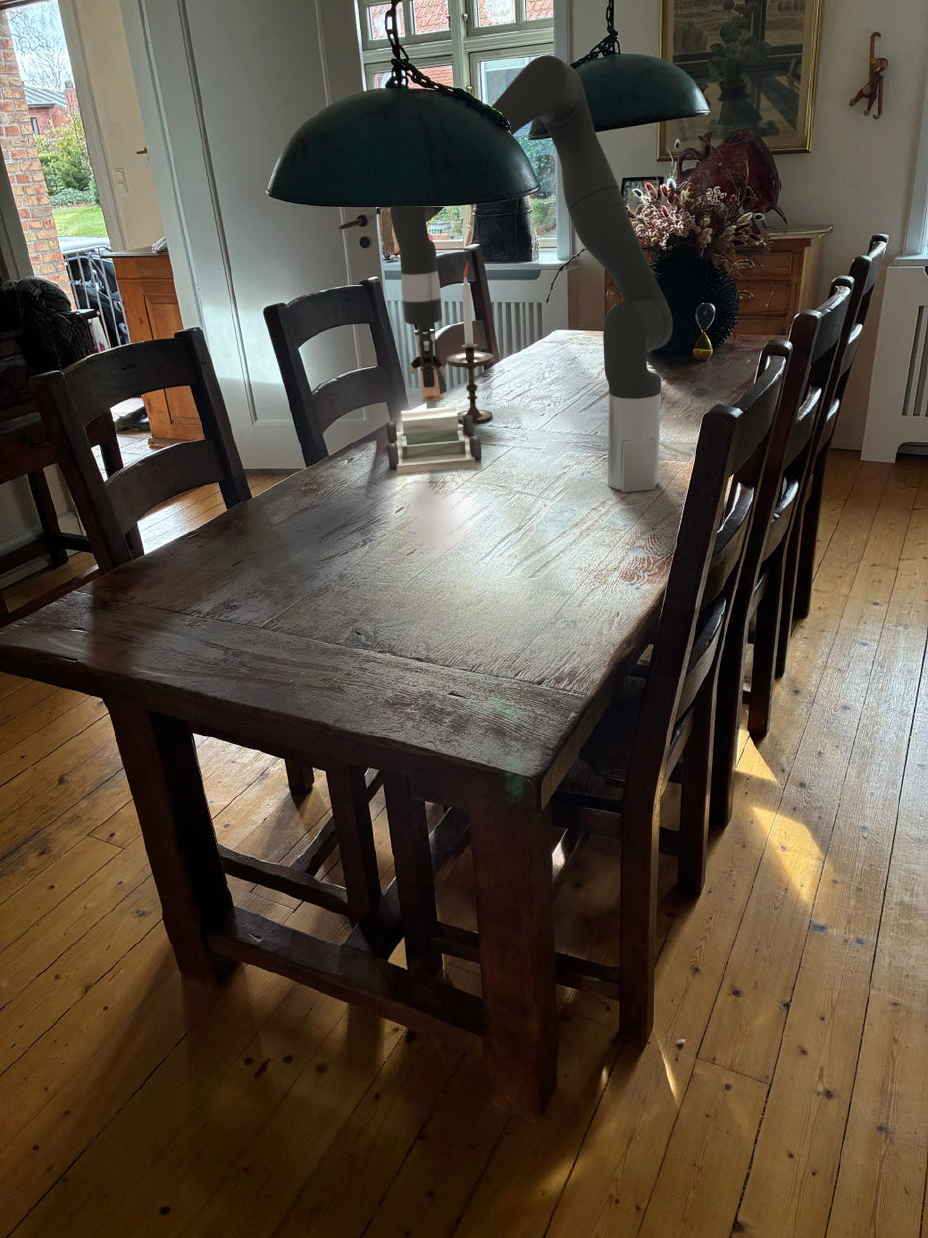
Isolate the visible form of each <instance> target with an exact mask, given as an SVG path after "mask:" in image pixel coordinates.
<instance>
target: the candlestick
mask: <svg viewBox="0 0 928 1238" xmlns="http://www.w3.org/2000/svg"><path fill="white" fill-rule="evenodd" d="M468 268H469V262H468V261H467V262H466V264H465V267H464V270H463V283H461V296H462V298H461V299H462V314H463V328H464V330H463V331H464V344H462V345H460V347H461V348H464V350H465V351H464V352H460V353H455V354H451V355H449V356H447V358H446V365H448V366H449V367H454V368H464V369H467V372H468V373H467V378H468V384H467V385H466V386H465V390H466V391H467V392H468V396H467V397H466V399H467V400H469V407H468V410H464V411H460V412H457V415H458V424H462V425H463V416H466V415H472V417H473V425H478V424H484V423H488V422H490V421H491V420H493V418H494V416H493V415H494V414H493V412H491V411H489V410H484V409H478V407H477V403H476V400H477V399H478V397H479V396H478V395H476V394H477V393H476V391H477V390H478V388H479V386H478V385H477V384H476V383H475V370H474V369H476V368H477V367H482V366H487V365H490V364H492V363H493V362H494V359H495V356H494V354H492V353H489V352H482V351H475V347H476V348H477V347H478V346H479V345H478V344H477V343H474V333H473V332H474V331H473V330H474V329H473V319H472V318H473V317H472V316H473V315H472V314H473V313H472V301H471V300H472V298H471V297H472V296H471V283H469V281H468V279H467V278H468V277H467V275H468V271H469V269H468Z"/></svg>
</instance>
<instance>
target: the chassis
mask: <svg viewBox="0 0 928 1238" xmlns="http://www.w3.org/2000/svg"><path fill="white" fill-rule="evenodd" d="M400 413H401V423H402V431H397V424H396V421H386V435H387V444H386V445H387V457H388V459H387V460H388V466H389V469H396V472H397V474H404V473H405V474H406V473H417V472H428V471H429V472H430V471H438V470H449V469H460V468H461V469H463V468H473V467H476V462H477V461H482V444H481V438H480V435H475V427H474V425H475V424H473V417H472V415H466V416H463V424H462V426H459V423H458V415H457V413H458V411H457V409H456V406H446V407H445V406H444V407H435V408H434V407H433V408H422V409H411V410H410V409H409V410H401V411H400Z"/></svg>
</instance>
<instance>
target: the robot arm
mask: <svg viewBox="0 0 928 1238" xmlns="http://www.w3.org/2000/svg"><path fill="white" fill-rule="evenodd" d="M585 92H586V91H585V89H584V85H583V81H582V79H581V77H580V75H579V73H578V72H577V71H576V69H575V68H573V67H572V66H571V64H570V65H569V64H568V63H567V62H565V61H564V60H563V59H561V58H559V57H558V56H556V55H552V54H541V55H538V56H536V57H535V58H533V59H532V60H529V62H528V63H527V64H526V65H525V66H524V67H523V69H521V70H520V72H519V73H518V74H517V75H516V76H515V78H514V79H513V80H512V81H511V83H510V84H509V85H508V86H507V88H506V89H505V90H504V91H503V92H502V93H501V95H500V96H499V97H498V98H497V99H496V101H494V103H492V105H491V106H490V107H492V108H494V109H496V110H497V111H499V112H501V113H502V115H503V116H504V118H506V119H507V120H508V121H509V123H510V126H511V129H510V132H511V134H512V136H514V135H515V134H516V133H517V132H518V131H519V130H520V129H522V128H523V127H525V126H527V125H528V124H530V123H531V122H533V121H535V120H537V119H539V120H540V121H541V122H542V124H543V125H544V126H545V128H546V130H547V132H548V134H549V136H550V138H551V140H552V143H553V145H554V147H555V149H556V152H557V155H558V158H559V162H560V168H561V181H562V189H563V195H564V196H563V197H564V200H565V205H566V208H567V211H568V214H569V216H570V219H571V222H572V224H573V226H574V227H573V228H574V231H575V232H576V235H577V237H578V239H579V241H580V243H581V244H582V245H583V246H584V248H585V249H586V250H587V251H588V252H589V253H590V254H591V255H592V257H594V259H595V260H596V261H597V262H598V263H599V264H600V265H601V266H603V268H604V269H605V270H606V272H608V273H609V275H610V276H611V277H612V279H613V281H614V282H615V284H616V286H617V288H618V289H619V292H620V295H621V297H622V299H623V301H619V302H618V303H615V304H614V305H613V304H612V306H611V307H610V308H609V309H608V311H607V313H606V315H605V318H604V323H603V329H602V331H603V333H602V334H603V336H602V339H603V340H602V341H603V343H602V345H603V364H604V367H603V369H604V374H605V379H606V381H607V383H608V431H607V432H608V433H607V434H608V438H607V439H608V440H607V445H608V446H607V484H608V486H609V487H611V488H612V489H615V490H618V491H621V492H622V493H631V492H641V491H651V490H652V491H653V490H655V489H656V486H657V485H658V481H659V479H658V478H659V453H660V451H659V450H660V430H661V429H660V425H661V402H662V401H661V399H662V397H661V396H662V378H661V376H660V374H659V373H657V372H654V371H651V370H649V369H648V362H647V352H651V351H654V350H657V349H660V348H662V347H664V346H665V345H666V344H667V343H668V342H669V341H670V339H671V337H672V334H673V328H674V324H673V323H674V321H673V316H672V312H671V308H670V307H669V304H668V302H667V299H666V298H665V295H664V294H663V291H662V289H661V287H660V284H658V281H657V279H656V277H655V275H654V273H653V272H652V270H651V267H650V265H649V263H648V260H647V258H646V255H645V254H644V251H643V249H642V246H641V243H640V241H639V239H638V236H637V234H636V231H635V229H634V226H633V224H632V221H631V219H630V218H631V217H630V215H629V212H628V209H627V205H626V203H625V201H624V197H623V195H622V192H621V190H620V187H619V184H618V182H617V179H616V177H615V175H614V174H613V170H612V167H611V165H610V163H609V160H608V159H607V156H606V154H605V152H604V150H603V148H602V145H601V144H600V141H599V139H598V136H597V133H596V130H595V127H594V124H593V120H592V116H591V111H590V109H589V103H588V100H587V96H586V93H585ZM444 208H445V207H390V206H389V214H390V220H391V225H392V229H393V233H394V235H395V236H394V237H395V239H396V243H397V245H398V249H399V258H400V259H399V260H400V261H399V263H400V272H401V273H400V274H401V287H400V289H401V297H402V306H403V307H402V308H403V318H404V322H405V323H406V324H408V325H412V326H413V325H417V330H414V340H415V342H416V351H417V355H418V356H419V357H420V358H421V367H422V372H423V384H424V387H425V388H429V387H434V385H435V384H434V371H433V368H434V365H435V363H434V357H433V356H436V348H435V346H436V345H435V341H436V334H435V333H436V332H435V329H431V325H432V324H436V323H439V322H441V321H442V319H443V311H442V297H441V295H442V294H441V283H440V277H439V273H438V271H439V270H438V261H437V260H438V259H437V249H436V245H435V242H434V241H433V240H432V239H430V237H429V232H428V228H427V223H428V222H429V221H430V220H432V219H434V217H436V216H437V215H438V214H439V213H441V211H442V210H443V209H444ZM419 340H420V342H419ZM420 350H421V351H420ZM418 356H417V357H418ZM424 358H431V361H424ZM435 366H436V365H435ZM421 367H420V368H421Z"/></svg>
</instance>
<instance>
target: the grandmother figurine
mask: <svg viewBox="0 0 928 1238" xmlns="http://www.w3.org/2000/svg"><path fill="white" fill-rule="evenodd" d="M419 342H420V340H419ZM420 351H421V350H420ZM433 357H434V363H435V365H434V368H433V371H434V384H435V385H434V387H429V388H425V387H424V384H423V372H422V367H421V358H420V357H419V356H416V357H415V358H414V359H413V361H412V362H411V363H410V369H409V373H408V374H410V375H413V374H415V370H416V369H417V368H420V369H419V379H420V380H419V381H420V388H421V390H420V391H421V395H422V400H421V402H429V401H432V402H440V401H443V400H444V399H445V398H444V396H443V395H442V394H441V390H440V384H439V376H438V372H437V369H438V371H439V372H440V375H441V376H445V375H446V374H447V372H446V370H445V367H444V364H443V363H442V361H441V360H440V359H439V358H438V357H437V356H436V355H434V356H433ZM424 361H431V358H424ZM436 367H437V368H436Z"/></svg>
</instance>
